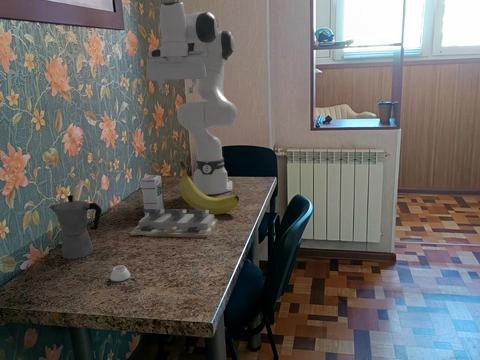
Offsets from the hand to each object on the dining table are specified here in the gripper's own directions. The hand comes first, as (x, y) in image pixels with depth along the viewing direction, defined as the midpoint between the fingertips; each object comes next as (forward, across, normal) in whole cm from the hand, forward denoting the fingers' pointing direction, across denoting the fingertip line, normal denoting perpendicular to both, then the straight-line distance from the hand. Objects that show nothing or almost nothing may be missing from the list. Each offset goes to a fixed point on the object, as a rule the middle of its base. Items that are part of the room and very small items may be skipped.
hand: (177, 93), depth 150 cm
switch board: (+44, +2, +13) cm, 46 cm away
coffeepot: (+45, +27, +32) cm, 62 cm away
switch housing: (+44, +2, +11) cm, 46 cm away
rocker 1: (+41, +9, +10) cm, 43 cm away
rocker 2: (+41, +2, +12) cm, 43 cm away
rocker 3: (+41, -6, +13) cm, 43 cm away
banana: (+44, -9, -2) cm, 45 cm away
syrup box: (+44, +12, -3) cm, 46 cm away
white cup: (+45, +11, +49) cm, 68 cm away
